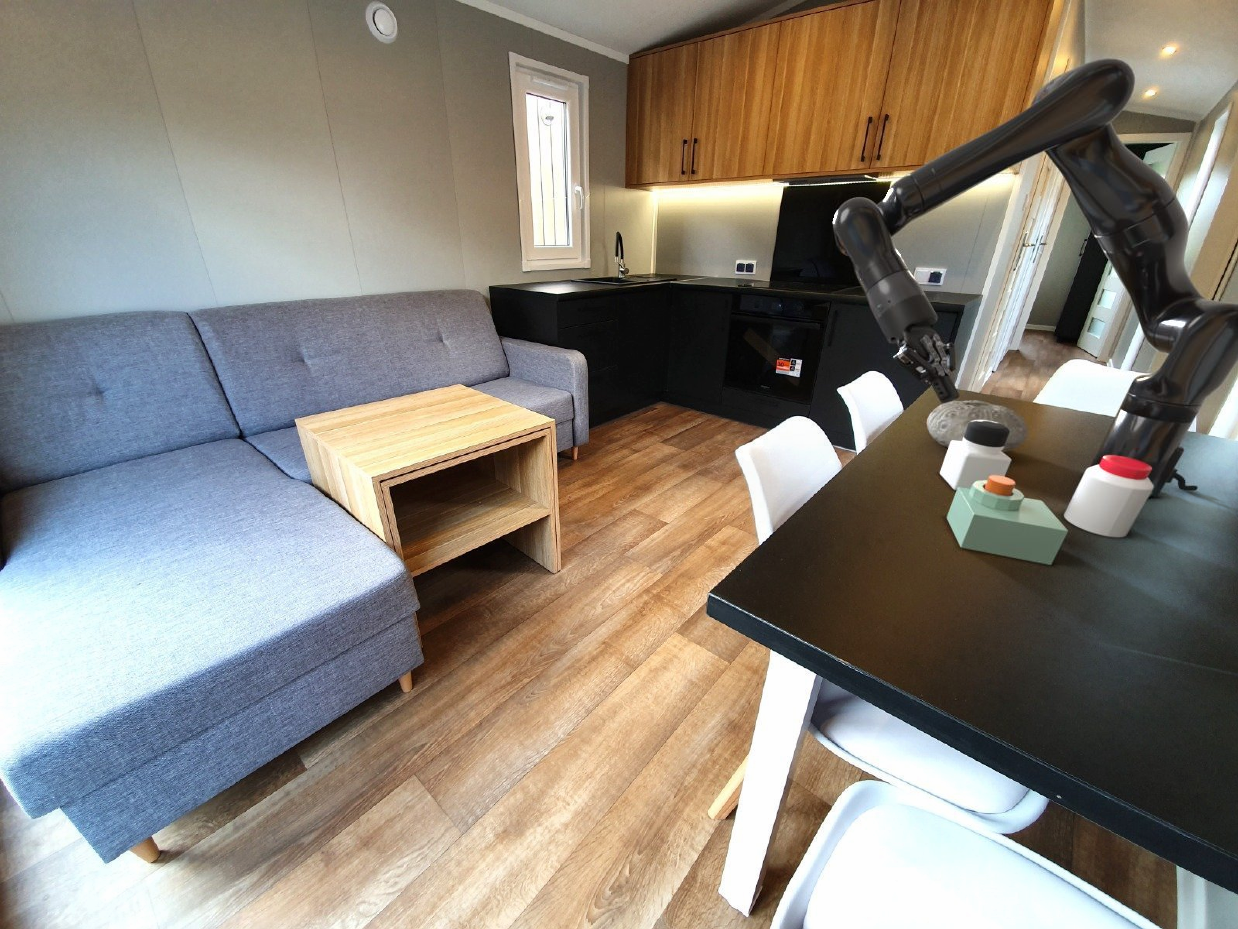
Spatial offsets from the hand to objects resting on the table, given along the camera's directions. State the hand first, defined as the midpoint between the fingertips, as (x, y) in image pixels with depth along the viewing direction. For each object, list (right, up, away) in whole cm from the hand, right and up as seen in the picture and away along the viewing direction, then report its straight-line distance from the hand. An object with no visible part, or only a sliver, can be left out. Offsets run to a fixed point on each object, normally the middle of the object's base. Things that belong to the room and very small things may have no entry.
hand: (951, 400), depth 76 cm
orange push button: (+4, -14, -4) cm, 15 cm away
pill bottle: (+25, -20, +3) cm, 32 cm away
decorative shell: (+25, -6, +31) cm, 40 cm away
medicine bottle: (+13, -14, +15) cm, 24 cm away
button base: (+5, -21, -2) cm, 22 cm away
